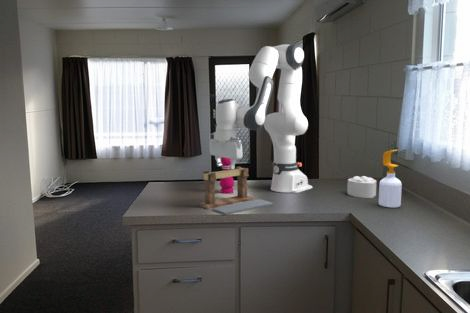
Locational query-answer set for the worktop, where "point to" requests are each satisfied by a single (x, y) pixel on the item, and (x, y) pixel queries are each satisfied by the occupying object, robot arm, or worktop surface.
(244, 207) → the slate mat
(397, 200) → the soap bottle
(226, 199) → the stand
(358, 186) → the lumpy-topped squat cylinder
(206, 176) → the brass rail
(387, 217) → the worktop surface
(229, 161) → the pepper mill
